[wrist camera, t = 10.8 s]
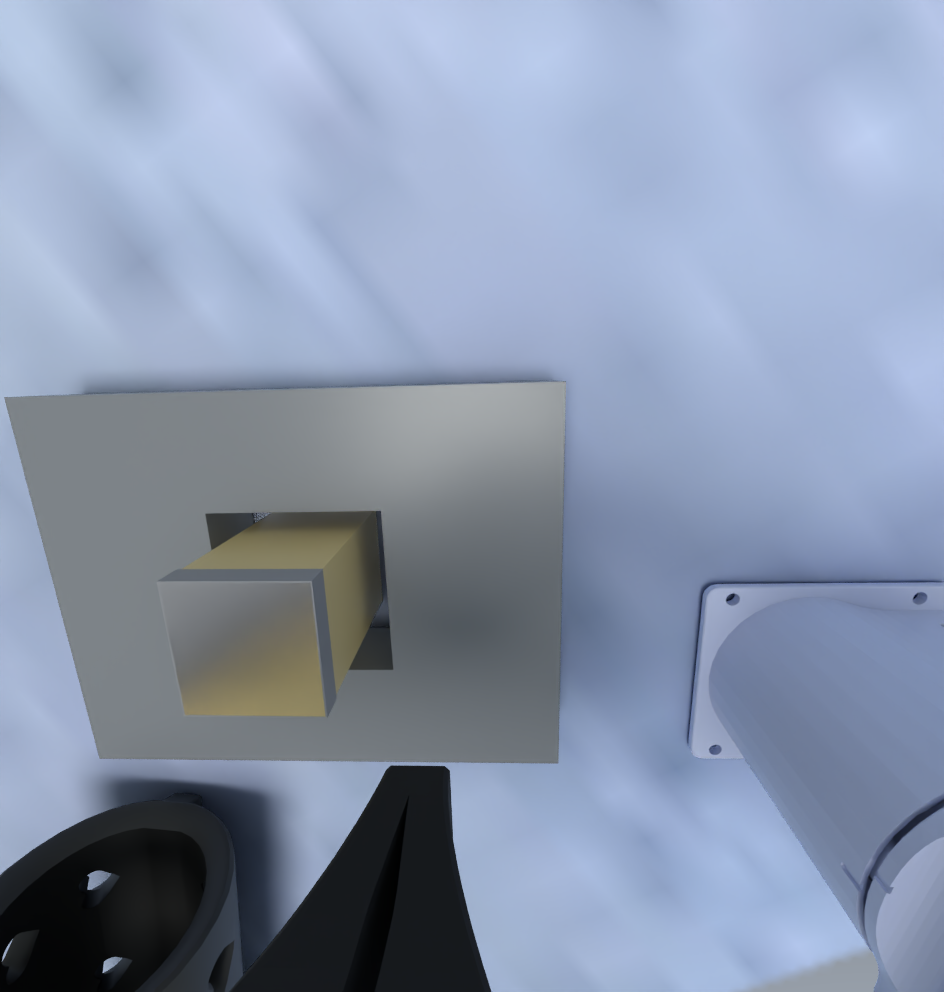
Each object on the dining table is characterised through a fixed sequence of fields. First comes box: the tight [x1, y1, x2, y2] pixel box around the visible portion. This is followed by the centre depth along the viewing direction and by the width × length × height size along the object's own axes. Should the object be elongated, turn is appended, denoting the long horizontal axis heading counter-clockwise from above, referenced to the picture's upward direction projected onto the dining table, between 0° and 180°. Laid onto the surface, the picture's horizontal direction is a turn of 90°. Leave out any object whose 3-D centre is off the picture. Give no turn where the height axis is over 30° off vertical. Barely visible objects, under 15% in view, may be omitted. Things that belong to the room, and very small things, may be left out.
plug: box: [157, 511, 383, 718], centre depth 16 cm, size 4×4×7 cm
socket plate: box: [4, 381, 566, 763], centre depth 18 cm, size 18×14×3 cm
